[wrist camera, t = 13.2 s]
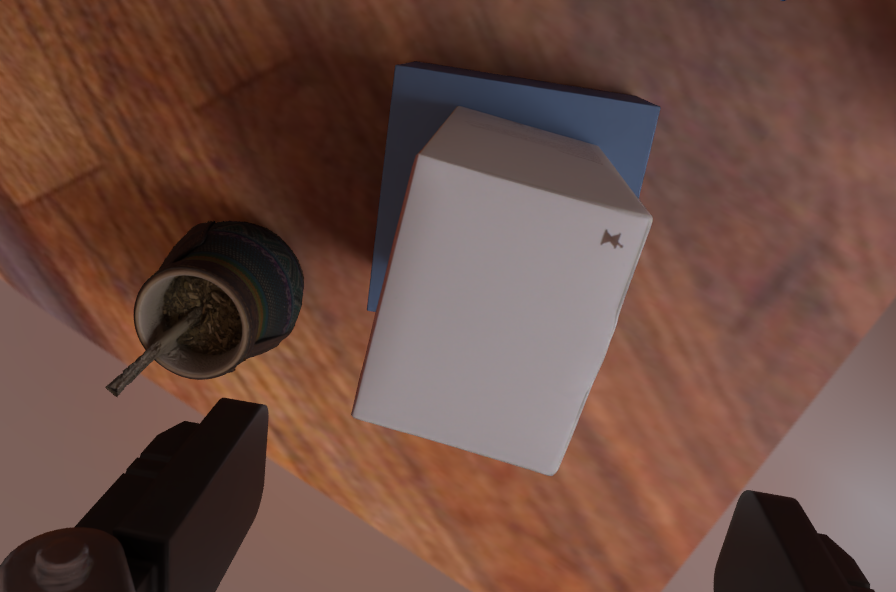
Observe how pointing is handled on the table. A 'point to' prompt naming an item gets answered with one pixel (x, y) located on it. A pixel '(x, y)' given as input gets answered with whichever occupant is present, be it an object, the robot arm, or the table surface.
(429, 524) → the table surface
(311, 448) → the table surface
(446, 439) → the small box
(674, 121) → the table surface
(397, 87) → the blue square block
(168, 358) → the mate gourd
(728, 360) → the table surface
